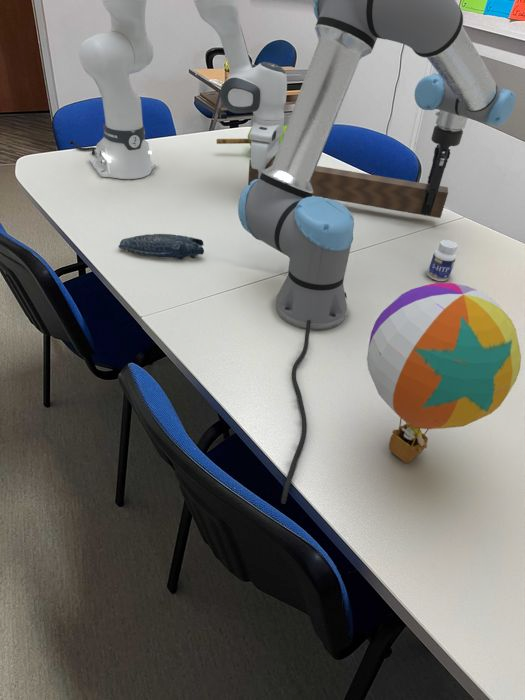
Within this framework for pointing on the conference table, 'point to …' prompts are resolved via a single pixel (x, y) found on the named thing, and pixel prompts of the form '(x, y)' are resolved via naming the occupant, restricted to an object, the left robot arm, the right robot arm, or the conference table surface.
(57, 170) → the conference table surface
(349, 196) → the bar
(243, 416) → the conference table surface
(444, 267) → the pill bottle
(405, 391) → the toy
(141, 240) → the fish model
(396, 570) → the conference table surface
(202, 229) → the conference table surface
